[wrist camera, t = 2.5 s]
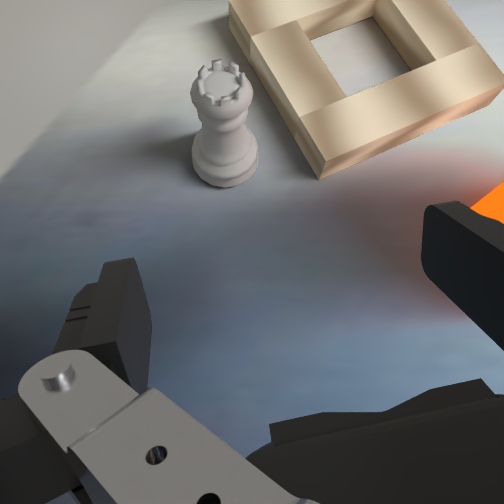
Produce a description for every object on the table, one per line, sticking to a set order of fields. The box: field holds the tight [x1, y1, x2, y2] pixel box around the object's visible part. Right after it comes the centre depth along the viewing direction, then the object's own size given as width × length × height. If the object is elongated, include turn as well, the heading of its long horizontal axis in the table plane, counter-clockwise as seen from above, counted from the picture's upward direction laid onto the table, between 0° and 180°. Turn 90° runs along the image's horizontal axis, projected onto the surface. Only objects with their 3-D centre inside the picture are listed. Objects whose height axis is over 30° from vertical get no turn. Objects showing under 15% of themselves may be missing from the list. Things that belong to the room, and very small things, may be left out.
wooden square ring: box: [229, 0, 504, 180], centre depth 31 cm, size 14×14×2 cm
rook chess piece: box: [190, 59, 259, 188], centre depth 26 cm, size 4×4×8 cm
